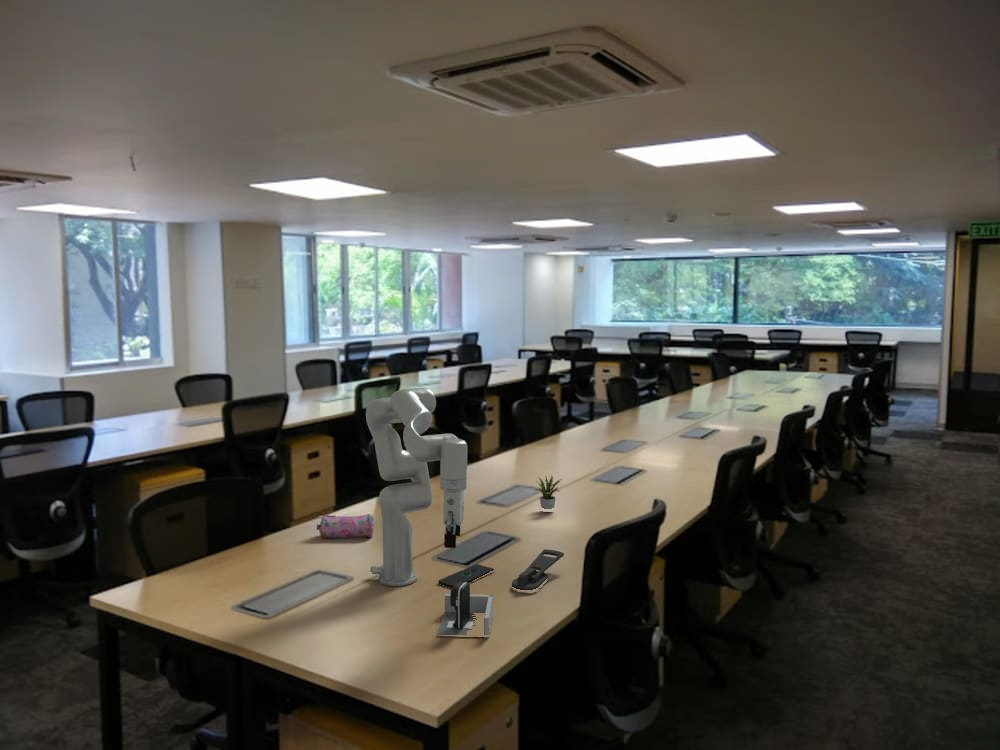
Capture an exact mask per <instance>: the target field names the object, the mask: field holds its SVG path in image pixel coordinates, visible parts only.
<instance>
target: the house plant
mask: <svg viewBox="0 0 1000 750" xmlns="http://www.w3.org/2000/svg"><path fill="white" fill-rule="evenodd" d="M537 478H538V480H539V481H537V480H534V481H536V482H537V484H538V485H539V487H540V488H538V489H537V488H535V489H534V491H539V492H541V494H542V495H541V496H540V497H539V502H540V503H539V504H540V508H541V507H542V508H544V509H552V508H554V509H555V504H556V499H557V498H556V497H557V496H554V493H556V492H559V493H561V490H559V489H558V488H559V483H561V481H563V478H560V479H558V480H557V481H555V482H554V476H553V475H551V476H550V479H549V480H548V477H547V475H546V474H545V479H544V481H545V483H544V481H543V480H542V478H541V477H539V476H537ZM539 482H540V483H539ZM553 482H554V483H553ZM557 485H558V487H556V486H557Z"/></svg>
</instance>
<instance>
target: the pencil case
mask: <svg viewBox="0 0 1000 750" xmlns="http://www.w3.org/2000/svg"><path fill="white" fill-rule="evenodd" d="M318 519H320V522H319V524H316V530H319V536H320V538H321V539H323V538H324V537H326V539H346V538H353V537H355V538H356V537H360V538H365V536H368V538H372V537H373V533H374V531H375V517H374V515H372V514H371V513H366V514H363V515H356V516H355V515H353V516H347V515H346V516H343V515H342V516H341V515H340V516H339V515H338V516H336V515H331V514H330V515H329V514H325V515H319V516H318ZM324 539H325V538H324Z"/></svg>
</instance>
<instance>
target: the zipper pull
mask: <svg viewBox="0 0 1000 750" xmlns="http://www.w3.org/2000/svg"><path fill="white" fill-rule="evenodd" d="M547 555H548V556H547ZM552 556H555V557H552ZM564 556H565V553H564V552H563V551H559V550H554V549H544V548H543V550H542V551H541V552H539V554H538V556H536V558H535V559H534V560H533V561H532V562H531V563H530V565H529V566H528V567H527V568H525V570H524V571H523V572H521V573H520V574H519V575H518V577H517V578H514V579H512V582H511V588H512V587H514V588H516V589H520V590H533V589H536V588H538V587H539V586H540V585H541V584H542V583H543V582H544V581H545V580H546V579H547V578H548V579H549V574H548V573H546V571H547V570H548V569H550V568H551V567H552V566H553V565H554V564H555V563H557V562H558V561H559V560H561V558H563V557H564Z"/></svg>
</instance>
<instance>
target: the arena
mask: <svg viewBox="0 0 1000 750" xmlns="http://www.w3.org/2000/svg"><path fill="white" fill-rule="evenodd" d="M450 594H451V593H444V613H443V615H442V620H441V623H440V625H439V628H438V631H437V634H436V635H461V634H462V635H467V634H466V633H467V631H469V630H472V629H469V628H472V627H473V626H476V625H473V623H475V622H472V621H475V620H473V619H476V618H473V617H476V616H472V615H475V614H473V613H485V618H484V635H489V636H490V634H489V631H490V632H491V628H490V625H491V626H492V622H491V620H492V621H493V616H492V614H493V615H494V595H493V594H470V620H469V621H468V622H467V623H466V624H465V626H464V627H463V628H460V629H459V628H456V627H453V623H454V622H455V621H456V610H455V609H454V607H453V606H451V605H450ZM476 620H477V619H476Z"/></svg>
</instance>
